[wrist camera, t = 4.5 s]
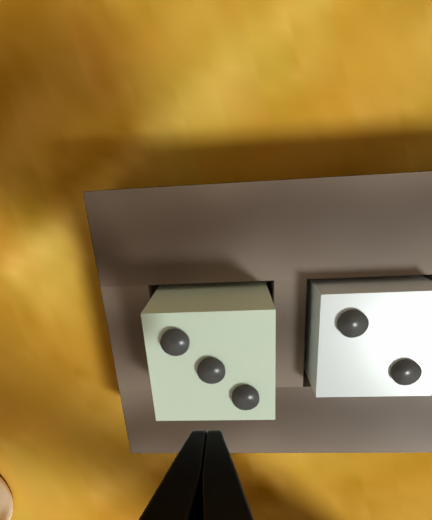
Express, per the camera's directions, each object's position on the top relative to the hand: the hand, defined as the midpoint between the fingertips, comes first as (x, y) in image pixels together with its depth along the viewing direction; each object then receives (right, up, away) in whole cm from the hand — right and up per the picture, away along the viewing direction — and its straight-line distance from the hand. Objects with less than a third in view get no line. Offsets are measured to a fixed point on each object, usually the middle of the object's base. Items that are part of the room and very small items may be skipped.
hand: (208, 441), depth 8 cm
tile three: (0, +2, +6) cm, 6 cm away
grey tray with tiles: (+7, +3, +8) cm, 11 cm away
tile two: (+7, +2, +7) cm, 10 cm away
